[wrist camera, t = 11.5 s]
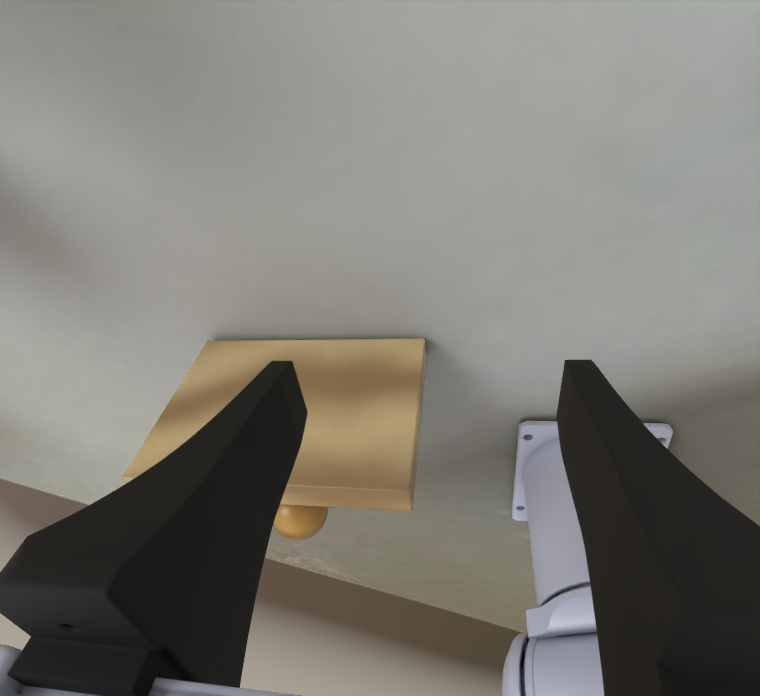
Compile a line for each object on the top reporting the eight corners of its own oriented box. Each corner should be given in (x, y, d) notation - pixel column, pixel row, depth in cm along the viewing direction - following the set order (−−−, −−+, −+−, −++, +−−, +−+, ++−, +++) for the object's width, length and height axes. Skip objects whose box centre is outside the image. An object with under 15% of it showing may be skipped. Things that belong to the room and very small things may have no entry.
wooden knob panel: (424, 338, 25) (431, 422, 29) (207, 340, 27) (242, 418, 31) (409, 490, 18) (421, 572, 22) (120, 477, 20) (179, 554, 24)
